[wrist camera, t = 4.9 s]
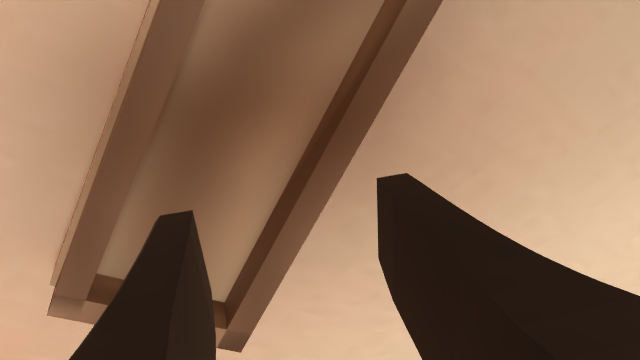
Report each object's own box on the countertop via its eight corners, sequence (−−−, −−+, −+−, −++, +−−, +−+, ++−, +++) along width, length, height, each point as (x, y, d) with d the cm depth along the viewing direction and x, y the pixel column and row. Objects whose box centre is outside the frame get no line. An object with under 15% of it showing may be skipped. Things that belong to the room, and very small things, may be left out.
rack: (507, -178, 17) (553, -178, 15) (240, 308, 25) (245, 353, 22) (274, -348, 14) (290, -379, 12) (54, 267, 22) (40, 314, 20)
